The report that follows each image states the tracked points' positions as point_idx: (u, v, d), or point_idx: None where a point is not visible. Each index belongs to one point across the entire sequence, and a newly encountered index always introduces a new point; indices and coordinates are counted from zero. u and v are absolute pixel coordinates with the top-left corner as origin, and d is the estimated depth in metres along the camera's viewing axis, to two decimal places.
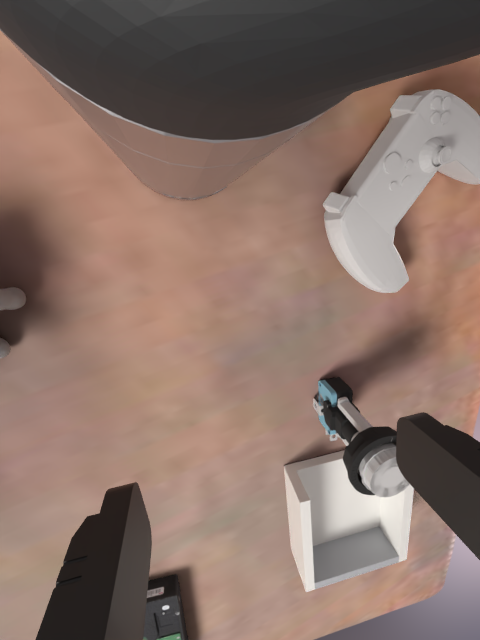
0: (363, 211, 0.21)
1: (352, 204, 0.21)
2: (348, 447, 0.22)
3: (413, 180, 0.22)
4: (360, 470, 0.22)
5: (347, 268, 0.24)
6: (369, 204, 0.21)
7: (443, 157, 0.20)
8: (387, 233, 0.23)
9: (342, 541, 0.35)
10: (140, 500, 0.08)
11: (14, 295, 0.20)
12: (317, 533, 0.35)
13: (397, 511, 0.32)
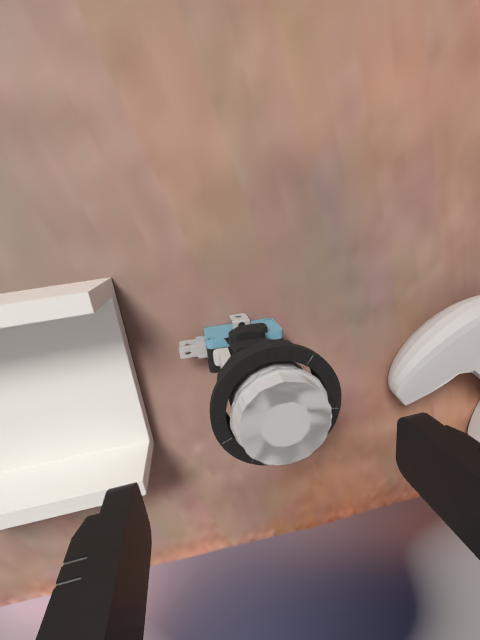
0: None
1: None
2: (293, 344, 0.12)
3: None
4: (273, 367, 0.11)
5: (431, 329, 0.21)
6: None
7: None
8: (472, 364, 0.21)
9: None
10: (140, 500, 0.08)
11: None
12: None
13: (33, 496, 0.17)
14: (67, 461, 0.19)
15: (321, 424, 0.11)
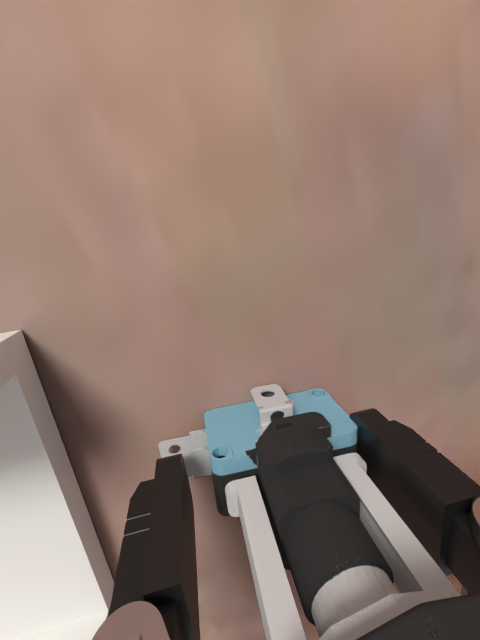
0: None
1: None
2: None
3: None
4: None
5: None
6: None
7: None
8: None
9: None
10: (185, 470, 0.09)
11: None
12: None
13: None
14: None
15: None
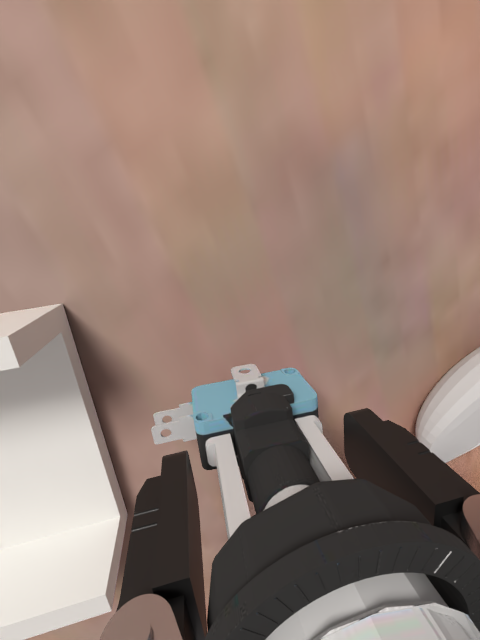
0: None
1: None
2: (377, 489, 0.06)
3: None
4: (352, 585, 0.05)
5: (471, 372, 0.16)
6: None
7: None
8: None
9: None
10: (190, 467, 0.09)
11: None
12: None
13: None
14: (5, 554, 0.14)
15: None
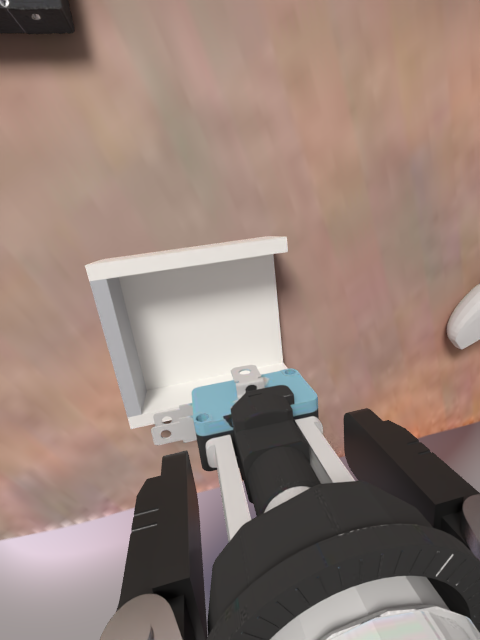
0: None
1: None
2: (378, 491, 0.06)
3: None
4: (353, 588, 0.04)
5: None
6: None
7: None
8: None
9: (131, 335, 0.23)
10: (190, 467, 0.09)
11: None
12: (149, 294, 0.23)
13: None
14: (227, 375, 0.26)
15: None
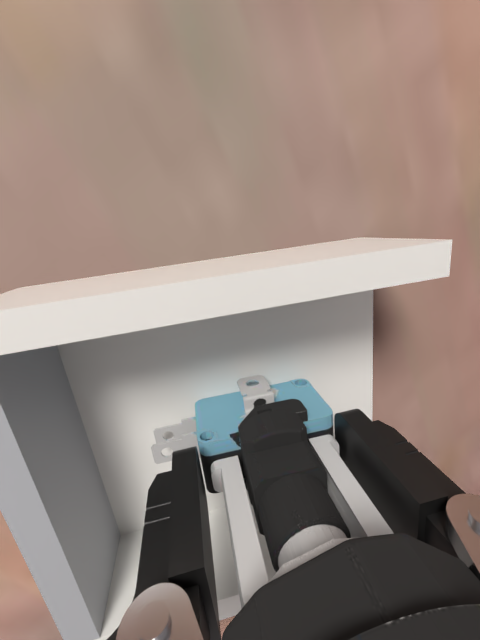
0: None
1: None
2: (422, 547, 0.05)
3: None
4: None
5: None
6: None
7: None
8: None
9: (84, 445, 0.11)
10: (199, 462, 0.09)
11: None
12: (120, 360, 0.11)
13: (267, 560, 0.11)
14: None
15: None
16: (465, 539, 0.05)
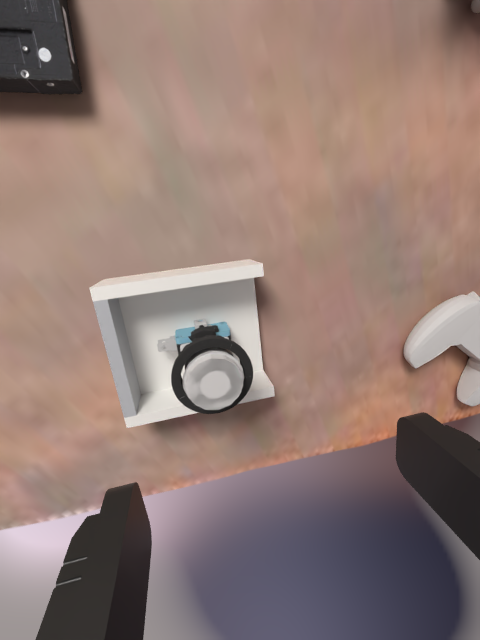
0: (479, 317, 0.31)
1: None
2: (224, 338, 0.20)
3: None
4: (209, 351, 0.19)
5: (432, 316, 0.31)
6: None
7: None
8: (459, 339, 0.32)
9: (128, 346, 0.26)
10: (140, 500, 0.08)
11: None
12: (144, 310, 0.26)
13: None
14: None
15: (237, 384, 0.19)
16: None
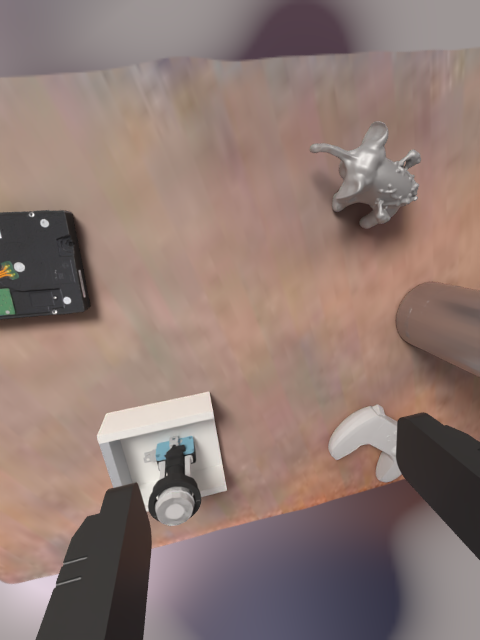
0: (379, 426, 0.42)
1: (383, 420, 0.42)
2: (182, 474, 0.31)
3: (389, 445, 0.44)
4: (171, 488, 0.30)
5: (346, 424, 0.43)
6: (382, 428, 0.42)
7: None
8: (366, 440, 0.43)
9: (123, 457, 0.38)
10: (140, 500, 0.08)
11: (372, 226, 0.35)
12: None
13: None
14: None
15: (188, 510, 0.30)
16: None
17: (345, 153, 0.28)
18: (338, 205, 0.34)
